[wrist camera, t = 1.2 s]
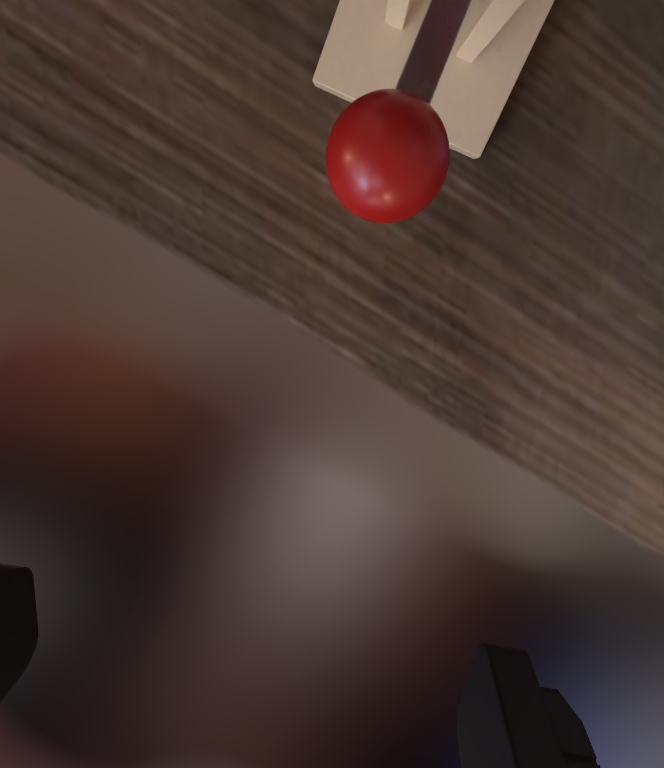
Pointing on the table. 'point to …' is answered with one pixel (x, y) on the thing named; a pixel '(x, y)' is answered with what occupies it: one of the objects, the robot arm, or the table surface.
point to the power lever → (397, 131)
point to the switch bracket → (463, 68)
